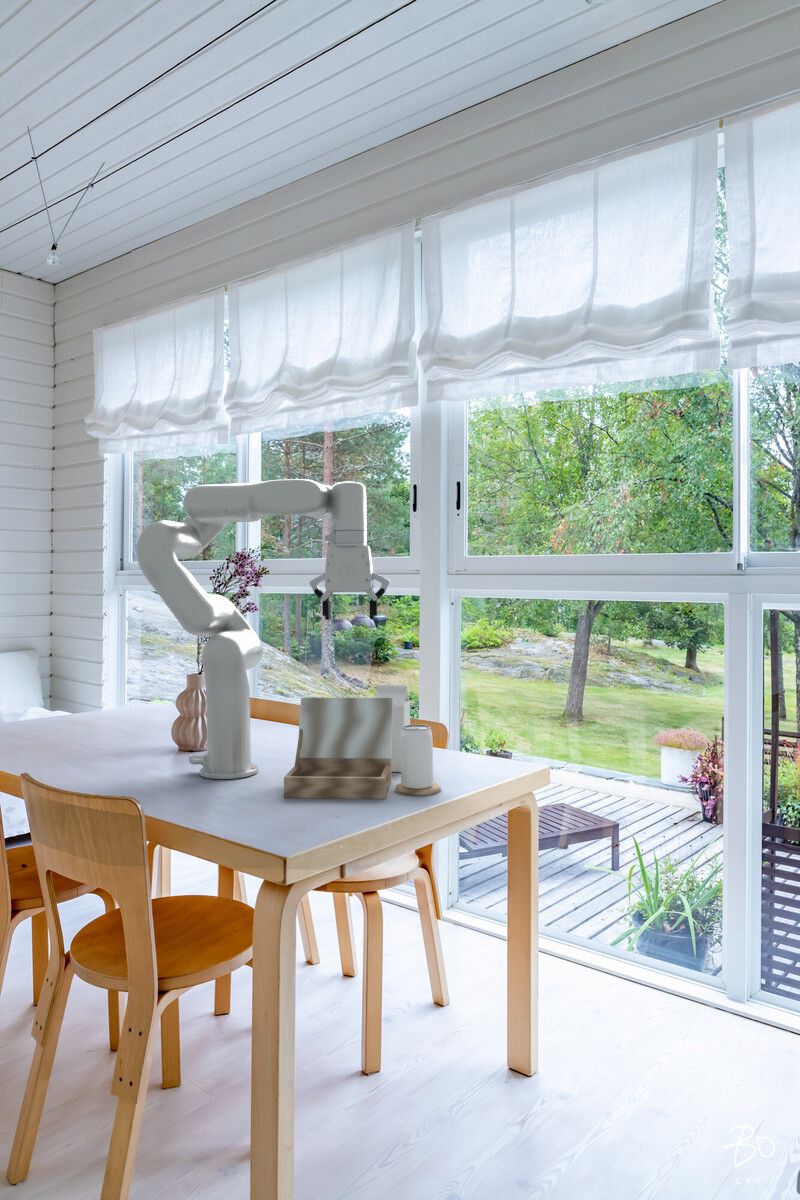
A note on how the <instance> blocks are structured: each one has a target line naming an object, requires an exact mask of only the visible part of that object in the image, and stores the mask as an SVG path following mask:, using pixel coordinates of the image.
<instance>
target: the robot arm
mask: <svg viewBox="0 0 800 1200" xmlns="http://www.w3.org/2000/svg"><path fill="white" fill-rule="evenodd" d="M182 501H183V502H182V504H183V505H182V506H183V509H184V511H185V513H186V515H187V516H186V517H185V518H184V519H183V520H182V521H181V522H179V521H174V520H165V519H163V520H162V519H161V520H157V521H152V522H150V523H149V524H147V525H146V526H145V527H144V528H142V529H143V530H142V531H141V533H140V534H139V537H138V539H137V543H136V544H137V545H136V559H137V563H138V566H139V567H140V568H139V569H140V571H141V572H142V575H144V577H145V578H146V580H147V581H148V582H149V584H150V585H151V586H152V588H153V589H154V590H155V591H156V593H157V594H158V596H159V597H160V598H161V599H162V601H163V603H164V604H165V606H167V608H168V609H169V611H170V612H171V614H172V615H173V616H174V618H175V619H176V620H177V621H178V623H179V624H180V625H181V627H182V628H183V629H184V630H185V631H186V633H188V634H190V635H191V636H196V637H197V636H198V637H202V636H208V637H209V638H208V640H207V641H206V642H205V644H204V646H203V649H202V653H201V662H202V669H203V676H204V683H205V703H206V706H205V707H206V753H203V754H190V755H189V758H188V761H189V764H191V765H192V766H193V765H195V766H196V765H201V766H202V767H201V768H200V770H199V774H200V776H201V777H203V778H205V779H212V780H233V779H235V780H236V779H240V778H247V777H250V776H253V775H255V774H257V773H258V771H259V770H258V769H259V767H258V765H257V764H254V763H253V762H252V761H251V760H252V759H251V757H252V756H251V755H252V754H251V753H252V752H251V748H252V746H251V702H250V701H251V698H250V695H251V691H250V683H249V679H248V673H247V671H248V670H251V669H253V668H254V667H256V666H257V665H258V664H259V662H260V661H261V659H262V657H263V648H264V647H263V644H262V641H261V639H260V637H259V636H258V634H257V632H255V629H254V628H252V626H251V624H249V622H248V621H247V619H246V618H245V617H244V616H243V614H242V613H241V612H240V610H239V609H238V608H237V606H236V605H234V602H232V601H231V600H230V599H228V598H227V597H226V596H223V595H221V594H218V593H208V592H207V591H205V589H204V588H203V587H202V586H201V585H200V584H199V583H198V581H197V580H196V578H195V577H194V576H193V574H192V573H191V572H190V571H189V570H188V568H186V567H185V566H184V565H183V564H182V563H181V562H180V561H179V560H188V559H192V558H195V557H196V556H198V555H199V554H200V553H201V552H203V551H204V549H206V548H207V547H208V545H210V543H211V542H213V540H215V538H217V536H218V535H219V534H221V532H222V531H223V530H224V529H225V528H226V527H227V526H228V525H229V523H245V522H246V523H253V522H254V523H255V522H257V521H260V520H261V519H263V518H264V517H270V516H271V517H273V516H295V515H297V516H305V517H309V518H312V519H318V520H319V519H326V518H331V531H330V533H329V534H325V535H324V541H325V542H329V543H330V544H331V546H327V551H326V557H325V558H326V559H325V571H324V573H322V574H321V575H319V576H316V577H315V578H313V579H311V580H310V581H309V585H310V587H311V589H312V591H313V593H314V594H315V595H316V596H317V597H318V598H319V599H320V601H321V603H322V605H321V606H322V608H321V609H322V616H323V617H324V620H325V621H329V620H331V618H332V615H331V612H332V611H331V610H332V609H331V601H330V598H331V596H332V595H333V594H334V593H366V595H368V596H369V598H370V601H369V620H375V617H376V616H378V600H379V599H381V597H382V596H383V595H384V594H385V593H386V591H387V589H388V587H389V586H390V583H391V581H390V580H389V579H388V578H386V577H383V576H381V574H378V573H375V572H374V567H373V559H372V558H373V557H372V552H371V547H370V546H369V545H368V544H367V542H368V541H367V540H368V539H367V489H366V486H365V485H364V484H363V483H361V482H356V481H341V482H340V481H339V482H336V483H334V484H333V485H325V484H322V483H319V482H317V481H316V480H315V481H314V480H311V479H304V478H302V479H301V478H300V479H299V478H297V479H296V478H295V479H294V478H292V479H291V478H290V479H274V480H266V481H265V480H264V481H255V482H245V483H241V482H240V483H222V484H221V483H220V484H219V483H215V484H213V483H212V484H199V485H196V486H193V487H192V488H189V489H188V491H186V492H185V495H184V497H183V499H182ZM374 580H375V581H376V582H379V583H380V584H381V586H380V588H379V589H378V590H377V591H376V592H375V590H374ZM322 582H324V589H325V591H324V592H323V590H321V589H320V587H319V584H320V583H322Z"/></svg>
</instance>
